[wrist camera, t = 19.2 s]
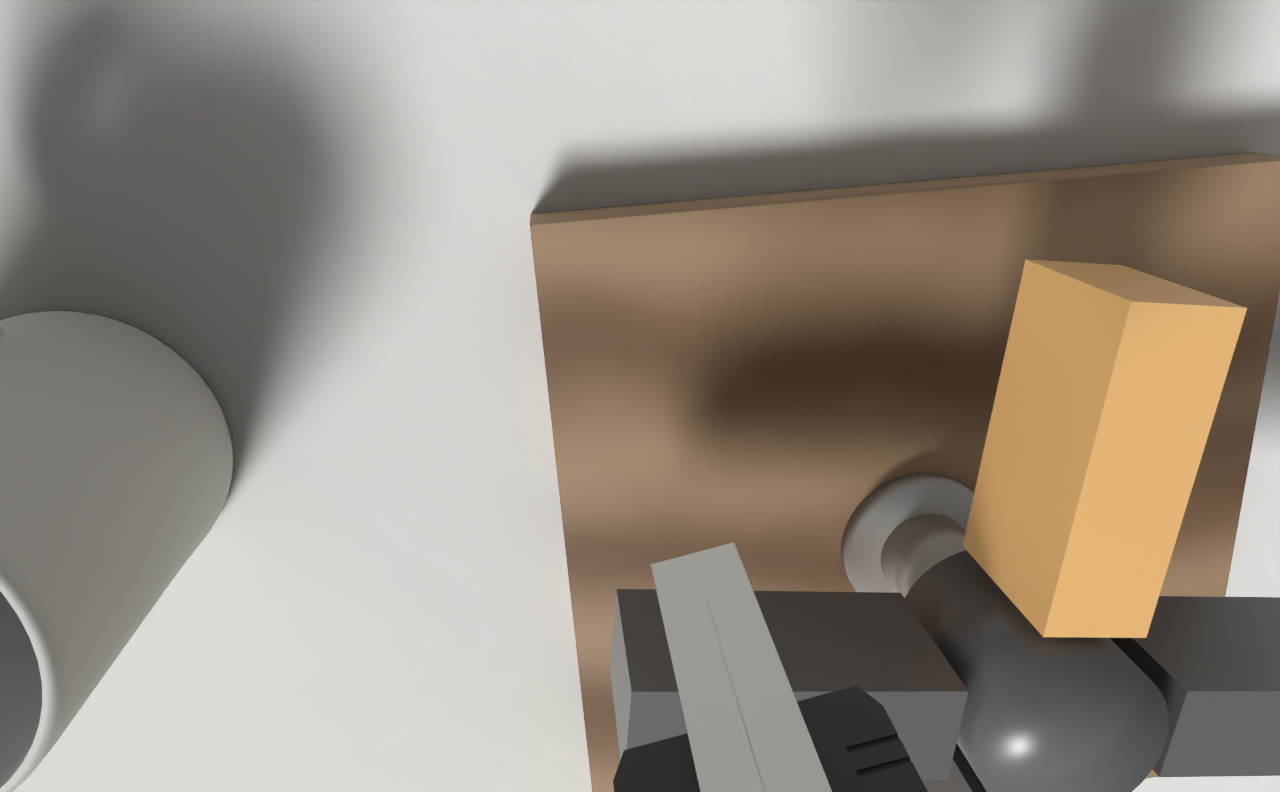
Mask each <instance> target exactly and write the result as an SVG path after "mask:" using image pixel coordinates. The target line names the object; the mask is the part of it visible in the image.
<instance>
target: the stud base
mask: <svg viewBox="0 0 1280 792" xmlns="http://www.w3.org/2000/svg"><path fill="white" fill-rule="evenodd" d="M530 230H531V239H532V248H533V257H534V266H535V275H536V284H537V293H538V302H539V311H540V321H541V330H542V339H543V348H544V357H545V366H546V375H547V384H548V393H549V402H550V411H551V420H552V429H553V439H554V448H555V457H556V466H557V475H558V484H559V493H560V502H561V511H562V520H563V529H564V538H565V547H566V556H567V566H568V575H569V584H570V593H571V602H572V611H573V620H574V629H575V638H576V647H577V656H578V665H579V674H580V684H581V693H582V702H583V711H584V720H585V729H586V738H587V747H588V756H589V765H590V774H591V783H592V792H614V786H613V779H614V777H615V774H616V771H617V768H618V765H619V763H620V751H619V743H618V734H617V725H616V717H615V708H614V700H613V691H612V682H611V674H610V665H611V652H612V640H613V627H614V614H615V602H616V589H656V586H655V582H654V577H653V573H652V568H651V564H655V563H658V562H662V561H666V560H670V559H673V558H677V557H681V556H685V555H688V554H692V553H696V552H700V551H703V550H707V549H711V548H715V547H718V546H722V545H726V544H729V543H733V542H734V543H735V546H736V549H737V551H738V554H739V556H740V559H741V561H742V564H743V566H744V569H745V571H746V574H747V577H748V579H749V582H750V584H751V587H752V589H753V591H814V592H890V593H901V594H902V595H903V597H904V598H905V597H906V595H907V593H908V592H909V590H910V589H911V587H912V586H913V585H914V583H915V582H916V581H917V580H918V579H919V578H920V577H921V576H922V575H923V574H924V573H925V572H926V571H927V570H928V569H930V568H931V567H932V566H934V565H935V564H937V563H938V562H940V561H941V560H943V559H945V558H947V557H949V556H951V555H954V554H956V553H959V552H962V551H965V550H966V549H965V548H964V547H963V542H964V537H965V533H966V528H967V524H968V519H969V515H970V510H971V505H972V501H973V496H974V492H975V487H976V483H977V478H978V474H979V469H980V464H981V460H982V455H983V451H984V446H985V442H986V437H987V433H988V428H989V423H990V419H991V414H992V410H993V405H994V401H995V396H996V392H997V387H998V382H999V378H1000V373H1001V369H1002V364H1003V360H1004V355H1005V351H1006V346H1007V341H1008V337H1009V332H1010V328H1011V323H1012V319H1013V314H1014V310H1015V305H1016V300H1017V296H1018V291H1019V287H1020V282H1021V278H1022V273H1023V269H1024V264H1025V259H1028V260H1044V261H1061V262H1077V263H1094V264H1110V265H1123V266H1126V267H1129V268H1132V269H1135V270H1138V271H1141V272H1144V273H1147V274H1150V275H1153V276H1155V277H1158V278H1161V279H1164V280H1167V281H1170V282H1173V283H1176V284H1179V285H1182V286H1185V287H1188V288H1191V289H1193V290H1196V291H1199V292H1202V293H1205V294H1208V295H1211V296H1214V297H1217V298H1220V299H1223V300H1226V301H1228V302H1231V303H1234V304H1237V305H1240V306H1243V307H1246V308H1247V311H1246V314H1245V317H1244V321H1243V324H1242V327H1241V330H1240V334H1239V337H1238V340H1237V343H1236V347H1235V350H1234V353H1233V356H1232V360H1231V363H1230V366H1229V370H1228V373H1227V376H1226V379H1225V383H1224V386H1223V389H1222V392H1221V396H1220V399H1219V402H1218V405H1217V409H1216V412H1215V415H1214V419H1213V422H1212V425H1211V428H1210V432H1209V435H1208V438H1207V441H1206V445H1205V448H1204V451H1203V454H1202V458H1201V461H1200V464H1199V467H1198V471H1197V474H1196V477H1195V481H1194V484H1193V487H1192V490H1191V494H1190V497H1189V500H1188V503H1187V507H1186V510H1185V513H1184V516H1183V520H1182V523H1181V526H1180V530H1179V533H1178V536H1177V539H1176V543H1175V546H1174V549H1173V552H1172V556H1171V559H1170V562H1169V565H1168V569H1167V572H1166V575H1165V579H1164V582H1163V585H1162V588H1161V592H1160V595H1159V596H1194V597H1225V594H1226V589H1227V583H1228V577H1229V572H1230V566H1231V560H1232V555H1233V549H1234V544H1235V538H1236V532H1237V527H1238V521H1239V515H1240V510H1241V504H1242V498H1243V493H1244V487H1245V481H1246V476H1247V470H1248V465H1249V459H1250V453H1251V448H1252V442H1253V436H1254V431H1255V425H1256V419H1257V414H1258V408H1259V402H1260V397H1261V391H1262V385H1263V380H1264V374H1265V369H1266V363H1267V357H1268V352H1269V346H1270V340H1271V335H1272V329H1273V323H1274V318H1275V312H1276V306H1277V301H1278V295H1279V290H1280V156H1275V155H1267V154H1258V153H1242V154H1230V155H1218V156H1206V157H1195V158H1183V159H1171V160H1159V161H1148V162H1136V163H1124V164H1112V165H1101V166H1089V167H1077V168H1065V169H1054V170H1042V171H1030V172H1018V173H1007V174H995V175H983V176H971V177H960V178H948V179H936V180H924V181H913V182H901V183H889V184H877V185H866V186H854V187H842V188H830V189H819V190H807V191H795V192H783V193H772V194H760V195H748V196H736V197H724V198H713V199H701V200H689V201H677V202H666V203H654V204H642V205H630V206H619V207H607V208H595V209H583V210H572V211H560V212H548V213H536V214H531V218H530ZM1151 777H1159V776H1158V775H1157V774H1156V773H1155V772H1154V770H1153V769H1152V770H1151V772H1150V773H1149V775H1148V776H1147V777H1146V778H1151Z"/></svg>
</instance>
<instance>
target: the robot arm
mask: <svg viewBox="0 0 1280 792" xmlns="http://www.w3.org/2000/svg"><path fill="white" fill-rule="evenodd" d="M651 568H652V573H653V577H654V582H655V586H656V591H657V595H658V600H659V605H660V609H661V614H662V618H663V623H664V627H665V632H666V637H667V641H668V646H669V650H670V655H671V659H672V664H673V668H674V673H675V678H676V682H677V687H678V691H679V696H680V700H681V705H682V710H683V714H684V719H685V723H686V728H687V732H688V733H686V734H683V735H679V736H675V737H671V738H668V739H664V740H660V741H656V742H653V743H649V744H645V745H642V746H638V747H634V748H630V749H627V750H624V751H623V754H622V757H621V760H620V763H619V765H618V768H617V771H616V774H615V777H614V779H613V786H614V792H928V791H927V789H926V787H925V785H924V783H923V782H922V780H921V778H920V776H919V774H918V772H917V770H916V768H915V766H914V764H913V762H911V760H910V757H909V755H908V753H907V751H906V749H905V747H904V745H903V743H902V741H901V739H899V737H898V733H897V732H896V730H895V728H894V726H893V724H892V722H891V720H890V718H889V716H888V714H887V712H886V710H885V708H884V706H883V705H882V704H880V703H879V702H878V701H876V700H875V699H874V698H873V697H871V696H870V695H869V694H867V693H866V692H865V691H864V690H862V689H861V688H860V687H858V686H857V685H856V686H852V687H849V688H845V689H841V690H838V691H834V692H830V693H826V694H823V695H819V696H815V697H812V698H808V699H804V700H800V701H796V699H795V696H794V694H793V691H792V689H791V686H790V683H789V681H788V678H787V676H786V673H785V671H784V668H783V666H782V663H781V661H780V658H779V655H778V653H777V650H776V648H775V645H774V643H773V640H772V638H771V635H770V633H769V630H768V627H767V625H766V622H765V620H764V617H763V615H762V612H761V610H760V607H759V605H758V602H757V599H756V597H755V594H754V592H753V589H752V587H751V584H750V582H749V579H748V577H747V574H746V571H745V569H744V566H743V564H742V561H741V559H740V556H739V554H738V551H737V549H736V546H735V543H734V542H733V543H729V544H726V545H722V546H718V547H715V548H711V549H707V550H703V551H700V552H696V553H692V554H688V555H685V556H681V557H677V558H673V559H670V560H666V561H662V562H658V563H655V564H651Z"/></svg>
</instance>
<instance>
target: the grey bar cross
mask: <svg viewBox="0 0 1280 792" xmlns="http://www.w3.org/2000/svg"><path fill="white" fill-rule="evenodd" d="M1246 311H1247V308H1246V307H1243V306H1240V305H1237V304H1234V303H1231V302H1228V301H1226V300H1223V299H1220V298H1217V297H1214V296H1211V295H1208V294H1205V293H1202V292H1199V291H1196V290H1193V289H1191V288H1188V287H1185V286H1182V285H1179V284H1176V283H1173V282H1170V281H1167V280H1164V279H1161V278H1158V277H1155V276H1153V275H1150V274H1147V273H1144V272H1141V271H1138V270H1135V269H1132V268H1129V267H1126V266H1123V265H1110V264H1094V263H1077V262H1061V261H1044V260H1028V259H1025V264H1024V269H1023V273H1022V278H1021V282H1020V287H1019V291H1018V296H1017V300H1016V305H1015V310H1014V314H1013V319H1012V323H1011V328H1010V332H1009V337H1008V341H1007V346H1006V351H1005V355H1004V360H1003V364H1002V369H1001V373H1000V378H999V382H998V387H997V392H996V396H995V401H994V405H993V410H992V414H991V419H990V423H989V428H988V433H987V437H986V442H985V446H984V451H983V455H982V460H981V464H980V469H979V474H978V478H977V483H976V487H975V492H974V496H973V501H972V505H971V510H970V515H969V519H968V524H967V528H966V533H965V537H964V542H963V547H964V548H965V549H966V550H965V551H962V552H959V553H956V554H954V555H951V556H949V557H947V558H945V559H943V560H941V561H940V562H938V563H937V564H935V565H934V566H932V567H931V568H930V569H928V570H927V571H926V572H925V573H924V574H923V575H922V576H921V577H920V578H919V579H918V580H917V581H916V582H915V583H914V585H913V586H912V587H911V589H910V590H909V592H908V593H907V595H906V597H905V598H904V597H903V595H902V594H901V593H890V592H814V591H753V592H754V594H755V597H756V599H757V602H758V605H759V607H760V610H761V612H762V615H763V617H764V620H765V622H766V625H767V627H768V630H769V633H770V635H771V638H772V640H773V643H774V645H775V648H776V650H777V653H778V655H779V658H780V661H781V663H782V666H783V668H784V671H785V673H786V676H787V678H788V681H789V683H790V686H791V689H792V691H793V694H794V696H795V699H796V701H800V700H804V699H808V698H812V697H815V696H819V695H823V694H826V693H830V692H834V691H838V690H841V689H845V688H849V687H852V686H856V685H857V686H858V687H860V688H861V689H862V690H864V691H865V692H866V693H867V694H869V695H870V696H871V697H873V698H874V699H875V700H876V701H878V702H879V703H880V704H882V705H883V706H884V708H885V710H886V712H887V714H888V716H889V718H890V720H891V722H892V724H893V726H894V728H895V730H896V732H897V733H898V737H899V739H901V741H902V743H903V745H904V747H905V749H906V751H907V753H908V755H909V757H910V760H911V762H913V764H914V766H915V768H916V770H917V772H918V774H919V776H920V778H921V780H922V782H923V783H924V785H925V787H926V789H927V791H928V792H1132V791H1133V790H1134V789H1135V788H1136V787H1137V786H1138V785H1140V784H1141V783H1142V781H1143V780H1144V779H1145V778H1146V777H1147V776H1148V775H1149V773H1150V772H1151V770H1152V769H1153V770H1154V772H1155V773H1156V774H1157V775H1158V776H1159V777H1196V776H1273V775H1280V598H1270V597H1194V596H1159V595H1160V592H1161V588H1162V585H1163V582H1164V579H1165V575H1166V572H1167V569H1168V565H1169V562H1170V559H1171V556H1172V552H1173V549H1174V546H1175V543H1176V539H1177V536H1178V533H1179V530H1180V526H1181V523H1182V520H1183V516H1184V513H1185V510H1186V507H1187V503H1188V500H1189V497H1190V494H1191V490H1192V487H1193V484H1194V481H1195V477H1196V474H1197V471H1198V467H1199V464H1200V461H1201V458H1202V454H1203V451H1204V448H1205V445H1206V441H1207V438H1208V435H1209V432H1210V428H1211V425H1212V422H1213V419H1214V415H1215V412H1216V409H1217V405H1218V402H1219V399H1220V396H1221V392H1222V389H1223V386H1224V383H1225V379H1226V376H1227V373H1228V370H1229V366H1230V363H1231V360H1232V356H1233V353H1234V350H1235V347H1236V343H1237V340H1238V337H1239V334H1240V330H1241V327H1242V324H1243V321H1244V317H1245V314H1246ZM610 674H611V682H612V691H613V700H614V708H615V717H616V725H617V734H618V743H619V751H620V760H621V757H622V754H623V751H624V750H627V749H630V748H634V747H638V746H642V745H645V744H649V743H653V742H656V741H660V740H664V739H668V738H671V737H675V736H679V735H683V734H686V733H688V732H687V728H686V723H685V719H684V714H683V710H682V705H681V700H680V696H679V691H678V687H677V682H676V678H675V673H674V668H673V664H672V659H671V655H670V650H669V646H668V641H667V637H666V632H665V627H664V623H663V618H662V614H661V609H660V605H659V600H658V595H657V591H656V589H616V602H615V614H614V627H613V640H612V652H611V665H610Z"/></svg>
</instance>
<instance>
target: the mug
mask: <svg viewBox="0 0 1280 792" xmlns="http://www.w3.org/2000/svg"><path fill="white" fill-rule="evenodd" d="M232 470H233V451H232V441H231V437H230V433H229V429H228V425H227V422H226V420H225V417H224V415H223V412H222V410H221V407H220V406H219V404H218V402H217V400H216V398H215V397H214V395H213V393H212V391H211V390H210V389H209V387H208V386H207V384H206V383H205V382H204V380H203V379H202V378H201V376H200V375H199V374H198V373H197V372H196V371H195V370H194V369H193V368H192V367H191V366H190V365H189V364H188V362H186V361H185V360H184V359H183V358H182V357H181V356H179V355H178V354H177V353H176V352H175V351H174V350H172V349H171V348H170V347H168V346H167V345H165V344H164V343H162V342H161V341H159V340H158V339H156V338H155V337H153V336H151V335H149V334H147V333H145V332H143V331H141V330H139V329H138V328H136V327H133V326H130V325H128V324H125V323H123V322H120V321H117V320H114V319H111V318H107V317H103V316H99V315H96V314H89V313H82V312H76V311H44V312H33V313H26V314H22V315H17V316H13V317H9V318H6V319H3V320H0V792H12V791H14V790H15V789H16V788H17V787H18V786H19V785H20V784H21V783H22V782H23V781H25V780H26V779H27V778H28V776H29V775H30V774H31V773H32V772H33V771H34V770H35V768H36V767H37V766H38V765H39V763H40V762H41V761H42V760H43V758H44V757H45V756H46V755H47V753H48V752H49V751H50V750H51V748H52V747H53V746H54V744H55V743H56V742H57V740H58V739H59V738H60V736H61V735H62V733H63V732H64V731H65V729H66V728H67V726H68V725H69V724H70V722H71V721H72V719H73V718H74V717H75V715H76V714H77V712H78V711H79V710H80V708H81V707H82V705H83V704H84V703H85V701H86V700H87V698H88V697H89V696H90V694H91V693H92V691H93V690H94V689H95V687H96V686H97V684H98V683H99V682H100V680H101V679H102V677H103V676H104V675H105V673H106V672H107V670H108V669H109V668H110V666H111V665H112V663H113V662H114V661H115V659H116V658H117V656H118V655H119V654H120V652H121V651H122V649H123V648H124V647H125V645H126V644H127V642H128V641H129V640H130V638H131V637H132V636H133V634H134V633H135V631H136V630H137V629H138V627H139V626H140V624H141V623H142V622H143V620H144V619H145V617H146V616H147V615H148V613H149V612H150V610H151V609H152V608H153V606H154V605H155V603H156V602H157V601H158V599H159V598H160V596H161V595H162V594H163V592H164V591H165V589H166V588H167V587H168V585H169V584H170V582H171V581H172V580H173V578H174V577H175V576H176V574H177V573H178V572H179V570H180V569H181V568H182V566H183V565H184V564H185V562H186V561H187V560H188V558H189V557H190V556H191V554H192V553H193V552H194V551H195V549H196V548H197V547H198V546H199V544H200V543H201V542H202V541H203V539H204V538H205V537H206V535H207V534H208V533H209V531H210V530H211V528H212V527H213V525H214V523H215V521H216V520H217V518H218V516H219V514H220V513H221V511H222V509H223V506H224V504H225V501H226V499H227V496H228V493H229V488H230V483H231V479H232Z"/></svg>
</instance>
